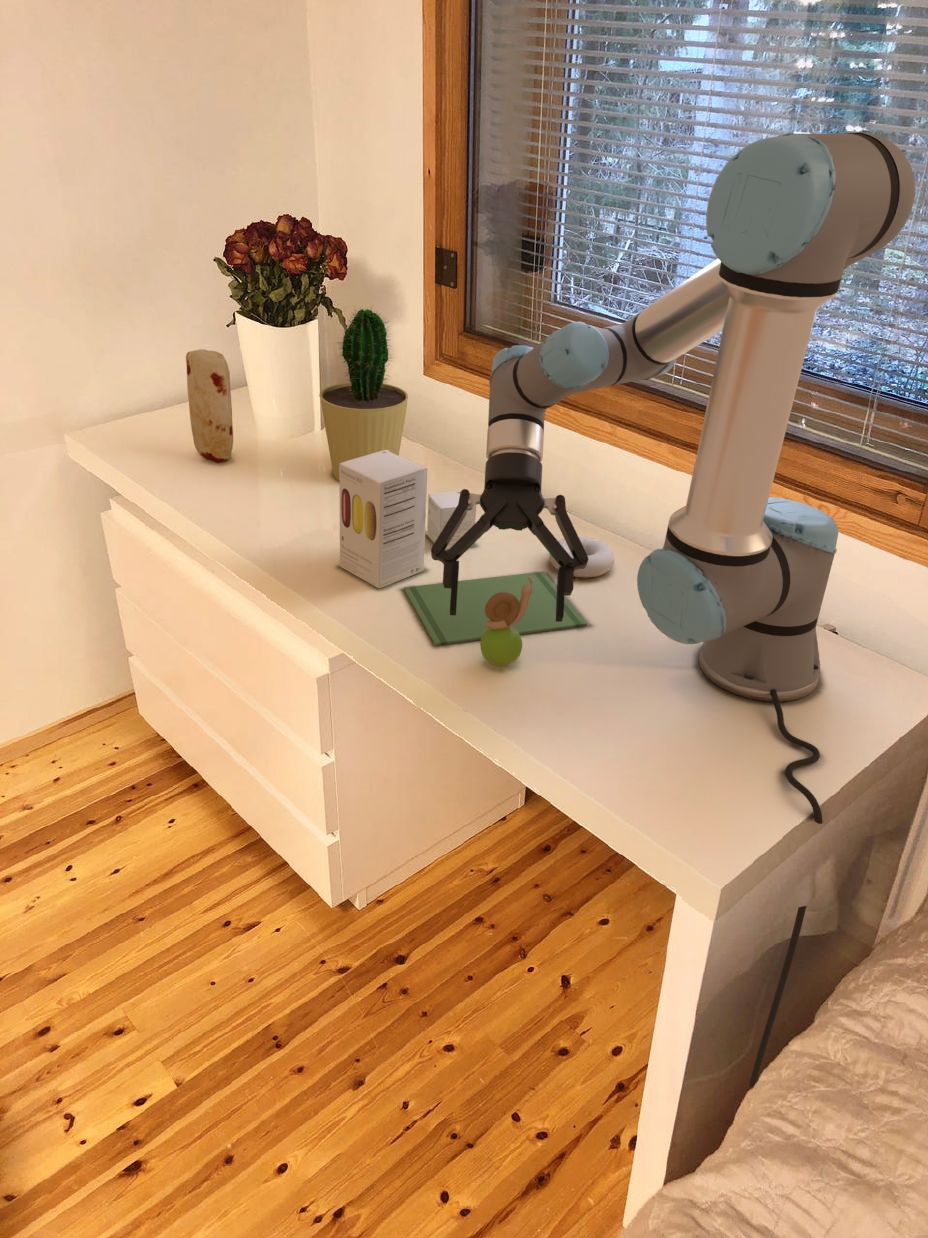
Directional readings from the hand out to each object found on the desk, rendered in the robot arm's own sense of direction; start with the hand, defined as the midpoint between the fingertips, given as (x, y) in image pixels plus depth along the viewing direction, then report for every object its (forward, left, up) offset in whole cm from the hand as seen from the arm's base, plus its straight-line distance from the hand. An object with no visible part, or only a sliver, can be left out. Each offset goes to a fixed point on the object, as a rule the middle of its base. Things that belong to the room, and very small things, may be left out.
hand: (506, 616), depth 133 cm
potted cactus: (+66, +3, -7) cm, 66 cm away
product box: (+36, -4, -7) cm, 37 cm away
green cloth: (+14, -4, -7) cm, 16 cm away
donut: (+23, -21, -7) cm, 32 cm away
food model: (+79, +28, -7) cm, 84 cm away
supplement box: (+29, +9, -7) cm, 31 cm away
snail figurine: (0, 0, -7) cm, 7 cm away
